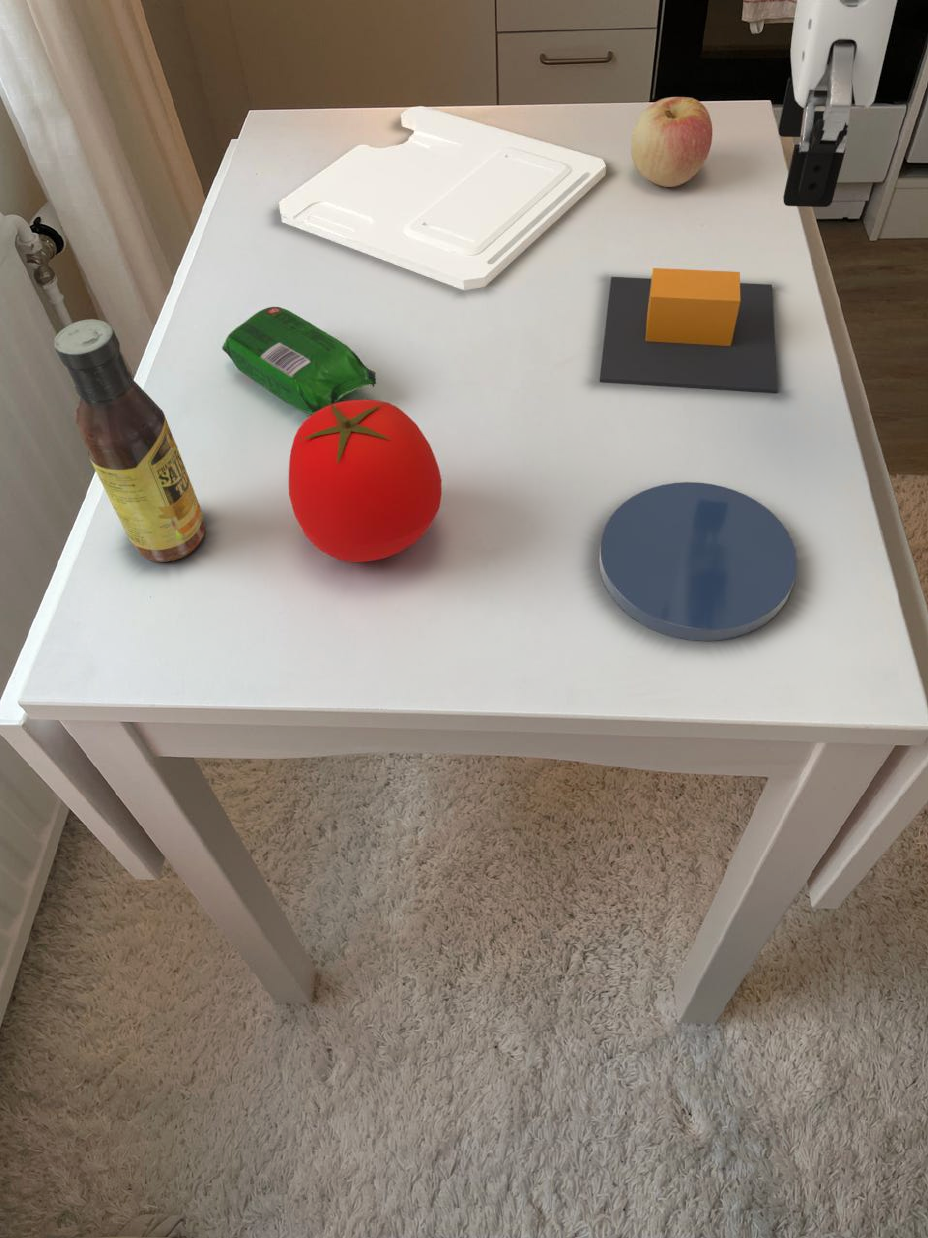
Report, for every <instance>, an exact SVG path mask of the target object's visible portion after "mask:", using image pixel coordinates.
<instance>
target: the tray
mask: <svg viewBox="0 0 928 1238" xmlns="http://www.w3.org/2000/svg"><path fill="white" fill-rule="evenodd" d="M400 121H401V127H403V128H405V129H408V130H412V131H413V133H412V134H411V135H410V136H408V140H406V141H404V142H403V143H399V144H391V145H390V146H386V147H374V146H372V145H368V144H358V145H356V146H354V147H353V148H352V149H350V150H349V151H348V152H346V153H345V154H343V155H342V156H341V157H339V158H338V159H336V160H335V161H333V162H332V163H331V164H329V165H328V166H327V167H326V168H324V169H323V170H321V171H319V173H317V174H316V175H314V176H313V177H312V178H310V179H309V180H307V181H306V182H305V183H303V184H301V185H300V186H299V187H298V188H296V189H295V190H294V191H292V192H291V193H289V194H288V195H286V196H285V197H284V198H282V199H281V200H280V201H279V202H278V208H279V213H280V217H281V218H280V219H281V223H284V224H286V225H288V226H291V227H294V228H297V229H298V230H302V231H305V232H307V233H310V234H312V235H315V236H318V237H320V238H324V239H326V240H328V241H331V242H333V243H336V244H339V245H342V246H345V247H347V248H349V249H352V250H356V251H357V252H361V253H363V254H366V255H369V256H372V257H373V258H376V259H379V260H382V261H385V262H387V263H390V264H393V265H395V266H398V267H401V268H403V269H407V270H409V271H412V272H414V273H417V274H419V275H421V276H425V277H427V278H430V279H433V280H435V281H437V282H441V283H442V284H443V283H444V284H446V285H449V286H451V287H453V288H456V289H460V290H462V291H468V290H474V289H483V288H486V287H487V286H488V285H489V284H490V283H491V282H493V280H494V279H495V278H496V277H497V276H498V275H499V274H501V272H503V271H504V270H505V269H506V268H507V267H508V266H509V265H511V263H513V261H514V260H516V259H517V258H518V257H519V256H520V255H521V254H522V253H523V252H524V251H526V250H527V249H528V248H529V247H530V246H531V245H532V244H533V243H534V242H535V241H536V240H538V238H540V237H541V235H543V234H544V233H545V232H546V231H547V230H548V229H549V228H550V227H552V226H553V225H554V224H555V223H556V222H557V221H558V220H559V219H560V218H561V217H562V216H564V214H566V212H567V211H569V210H570V209H571V208H572V207H573V206H574V205H575V204H576V203H577V202H578V201H580V200H581V198H583V197H584V196H585V195H586V194H587V193H588V192H589V191H590V190H592V188H594V187H595V186H596V185H597V184H598V183H599V182H600V181H601V180H602V179H603V178H604V177H606V172H607V171H606V170H607V164H606V163H605V161H604V160H603V158H601V157H599V156H595V155H591V154H588V153H584V152H581V151H577V150H575V149H571V148H567V147H564V146H560V145H557V144H554V143H550V142H547V141H542V140H540V139H536V138H532V137H531V136H527V135H522V134H519V133H517V132H512V131H510V130H506V129H502V128H499V127H495V126H492V125H488V124H486V123H483V122H479V121H476V120H471V119H470V118H469V119H468V118H465V117H462V116H458V115H454V114H451V113H448V112H445V111H441V110H437V109H434V108H431V107H428V106H424V105H419V106H411V107H408V108H407V109H406V110H404V111H402V113H400Z"/></svg>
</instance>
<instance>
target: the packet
mask: <svg viewBox="0 0 928 1238" xmlns="http://www.w3.org/2000/svg"><path fill="white" fill-rule="evenodd" d="M651 272H652V273H651V278H650V279H651V287H650V295H649V303H648V311H647V324H646V339H645V341H648V342H665V343H683V344H701V345H718V346H731V343H732V338H733V334H734V329H735V324H736V320H737V315H738V310H739V306H740V283H741V272H740V271H730V270H729V271H728V270H706V269H686V268H685V269H684V268H663V267H660V268H659V267H652V271H651Z"/></svg>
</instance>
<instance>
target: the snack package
mask: <svg viewBox="0 0 928 1238" xmlns="http://www.w3.org/2000/svg"><path fill="white" fill-rule="evenodd" d="M221 350H222V351H223V352H225V353H226V354H227V355H228V357H229V359H230V360H231V361H232V362H233V363H234V365H235V367H236V368H237V370H238V371H240V372H241V373H242V374H244V375H245V376H247V377H248V378H250V379H251V380H253V381H255V382H256V383H258V384H260V385H261V386H263V388H265V389H266V390H267V391H269V392H270V393H271V394H273V395H274V396H276V397H278V398H279V399H281V400H282V401H283V402H285V403H287V404H288V405H290V406H292V407H294V408H295V409H297V410H299V411H301V412H303V413H305V414H307V415H313V414H314V413H316V412H317V411H319V410H321V409H322V408H324V407H326V406H329V405H330V403H331V404H335V403H339V401H340V400H341V399H342V398H343V397H345V396H346V395H348V394H350V393H352V392H354V391H356V390H358V389H360V388H363V387H365V386H367V385H371V386H372V388H374V387H375V385H376V384H377V378H376V371H374V370H371V369H369V368H368V367H367V366H365V364H364V363H363V362H362V360H361V359H360V357H359V356H358V355H357V354H356V353H355V352H354V351H353V350H352V349H351V348H350V347H349V346H347V344H345V343H343V342H342V341H340V340H339V339H337V338H336V337H334V336H332V335H331V334H329V333H328V332H326V331H324V330H323V329H320V328H319V327H317V326H316V325H314V324H312V323H311V322H309V321H308V320H306V319H304V318H302V317H301V316H299V315H297V314H295V313H294V312H292V311H290V310H288V309H286V308H283V307H280V306H269V307H266V308H264V309H261V310H260V311H258V312H255V314H253V315H252V316H250V317H249V318H248V319H247V320H245V321H244V322H243V323H242V324H240V325H238V326H237V327H236V328H234V330H232V331H231V332H230V333H229V334H228V335H227V337H226V339H225V342H224V343H223V345H222V347H221ZM329 402H330V403H329Z"/></svg>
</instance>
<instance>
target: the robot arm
mask: <svg viewBox="0 0 928 1238" xmlns="http://www.w3.org/2000/svg"><path fill="white" fill-rule="evenodd" d="M897 3H898V0H796V5H795V10H794V11H795V12H794V19H793V26H792V34H791V43H790V65H791V66H790V67H791V68H790V69H791V77H788V79H787V83H786V89H785V93H784V97H783V104H782V109H781V114H780V119H779V124H778V128H777V129H778V130H777V131H778V135H779V137H783V138H799V143H797V144H795V143H794V145H793V150H792V155H791V158H790V163H789V168H788V173H787V177H786V183H785V187H784V192H783V197H782V198H783V204H784V206H786V207H805V208H806V207H809V208H811V207H812V208H828V207H830V206H831V205H832V203H833V200H834V196H835V192H836V188H837V184H838V180H839V177H840V172H841V169H842V165H843V161H844V157H845V154H846V149H847V148H846V145H847V140H848V134H849V133H848V132H849V125H850V117H851V111H852V109H851V108H852V103H853V100H854V105H855V107H860V109H862V110H865V109H867V108H869V107H871V105H873V104H874V102H875V99H876V95H877V90H878V87H879V83H880V82H879V81H880V77H881V74H882V69H883V64H884V61H885V55H886V52H887V46H888V43H889V40H890V39H889V38H890V34H891V29H892V25H893V21H894V16H895V11H896V7H897Z"/></svg>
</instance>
